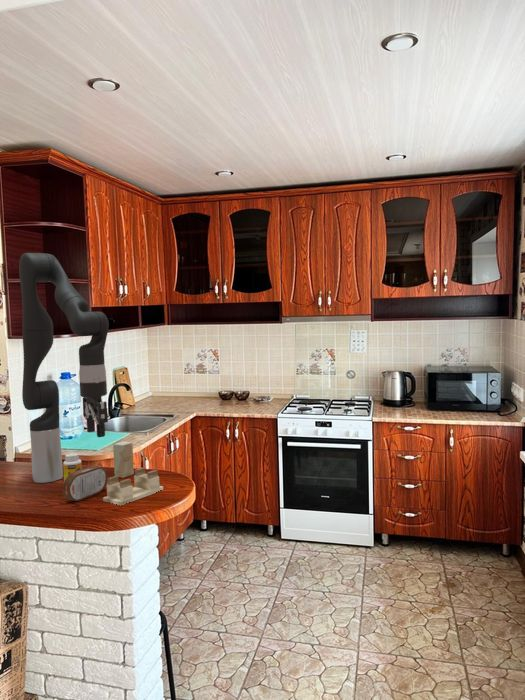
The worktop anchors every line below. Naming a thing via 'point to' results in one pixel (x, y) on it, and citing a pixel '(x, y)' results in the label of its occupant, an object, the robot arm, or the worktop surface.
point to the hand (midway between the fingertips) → (96, 434)
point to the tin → (84, 483)
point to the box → (123, 459)
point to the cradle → (126, 492)
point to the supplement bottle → (71, 464)
